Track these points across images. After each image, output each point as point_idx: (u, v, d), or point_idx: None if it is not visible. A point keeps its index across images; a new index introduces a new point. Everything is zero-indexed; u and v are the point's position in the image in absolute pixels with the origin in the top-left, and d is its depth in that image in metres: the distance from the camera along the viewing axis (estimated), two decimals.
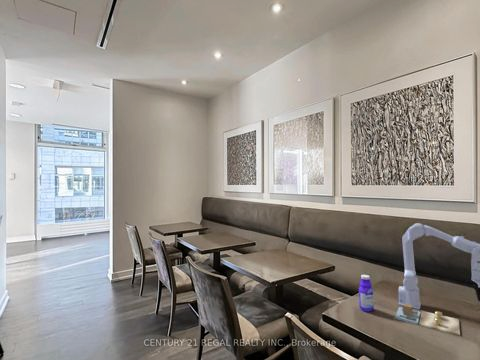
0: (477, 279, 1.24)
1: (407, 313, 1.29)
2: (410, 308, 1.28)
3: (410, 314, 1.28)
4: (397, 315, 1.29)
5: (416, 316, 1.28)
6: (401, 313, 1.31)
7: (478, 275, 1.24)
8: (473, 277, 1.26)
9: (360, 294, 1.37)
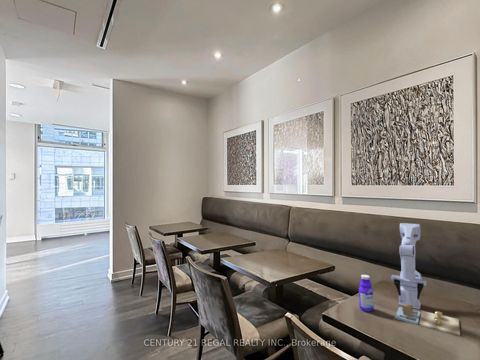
0: None
1: (407, 313, 1.29)
2: (410, 308, 1.28)
3: (410, 314, 1.28)
4: (397, 315, 1.29)
5: (416, 316, 1.28)
6: (401, 313, 1.31)
7: None
8: None
9: (360, 294, 1.37)
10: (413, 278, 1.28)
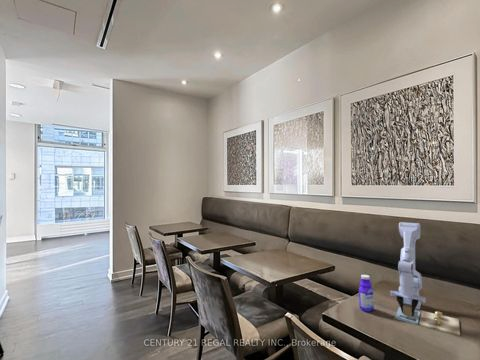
0: None
1: (407, 313, 1.29)
2: (410, 308, 1.28)
3: (410, 314, 1.28)
4: (397, 315, 1.29)
5: (416, 316, 1.28)
6: (401, 313, 1.31)
7: None
8: None
9: (360, 294, 1.37)
10: (412, 295, 1.28)
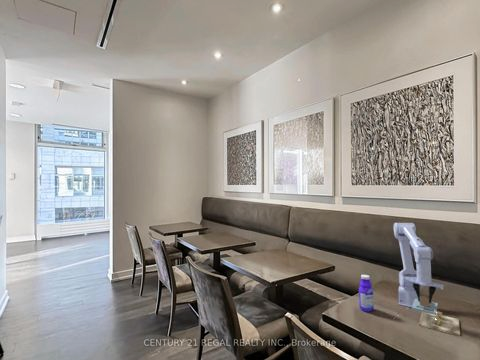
0: None
1: (424, 304, 1.25)
2: (427, 298, 1.24)
3: (427, 305, 1.24)
4: (414, 306, 1.25)
5: (433, 307, 1.24)
6: (418, 304, 1.27)
7: None
8: None
9: (360, 294, 1.37)
10: (429, 282, 1.24)
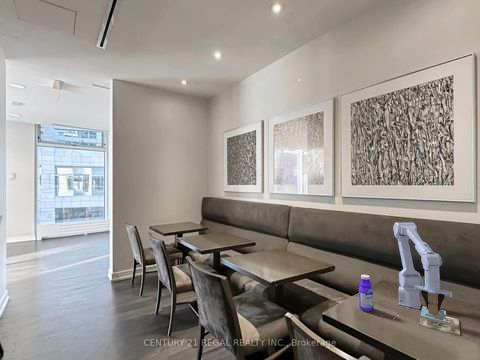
0: None
1: (433, 312, 1.23)
2: (436, 307, 1.22)
3: (436, 313, 1.22)
4: (422, 314, 1.23)
5: (442, 315, 1.22)
6: (426, 312, 1.25)
7: None
8: None
9: (360, 294, 1.37)
10: (438, 289, 1.22)
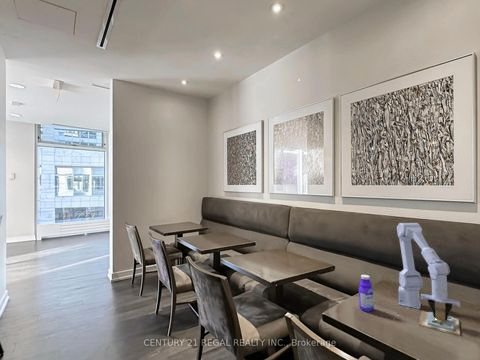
0: None
1: (440, 318, 1.21)
2: (443, 313, 1.21)
3: (443, 320, 1.21)
4: (429, 321, 1.22)
5: (450, 322, 1.21)
6: (433, 318, 1.24)
7: (432, 291, 1.26)
8: None
9: (360, 294, 1.37)
10: (445, 298, 1.21)
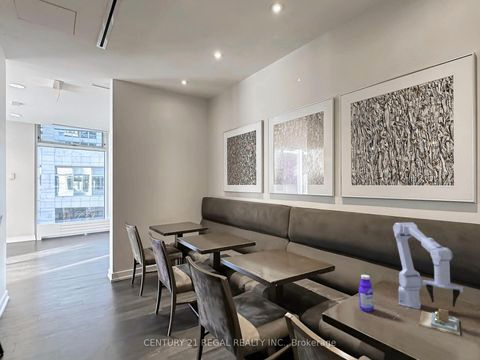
0: None
1: (443, 319, 1.21)
2: (447, 314, 1.20)
3: (447, 320, 1.20)
4: (432, 321, 1.21)
5: (453, 322, 1.20)
6: None
7: None
8: None
9: (360, 294, 1.37)
10: (448, 284, 1.20)
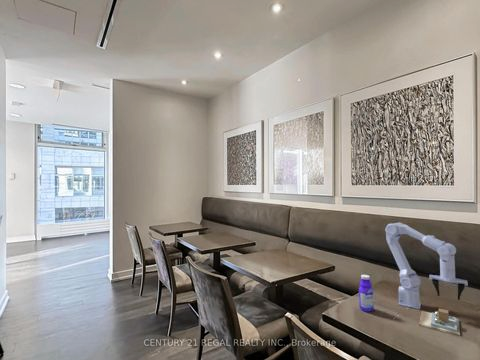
0: None
1: (443, 319, 1.21)
2: (447, 314, 1.20)
3: (447, 320, 1.20)
4: (432, 321, 1.21)
5: (453, 322, 1.20)
6: None
7: (440, 271, 1.31)
8: None
9: (360, 294, 1.37)
10: (453, 278, 1.26)
